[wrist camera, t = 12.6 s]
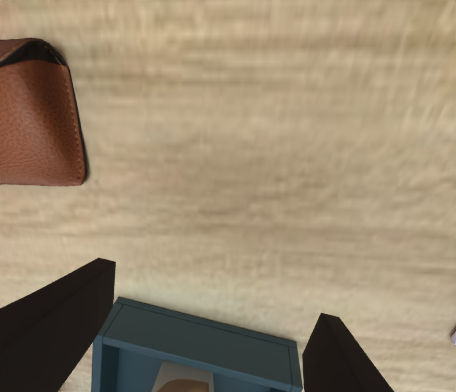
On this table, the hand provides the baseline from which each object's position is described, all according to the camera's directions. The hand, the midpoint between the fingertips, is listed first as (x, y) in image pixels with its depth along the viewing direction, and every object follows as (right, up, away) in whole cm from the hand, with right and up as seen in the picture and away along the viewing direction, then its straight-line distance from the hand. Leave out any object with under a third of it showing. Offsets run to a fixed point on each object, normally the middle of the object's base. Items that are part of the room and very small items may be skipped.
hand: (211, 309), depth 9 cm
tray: (-3, -12, +15) cm, 19 cm away
